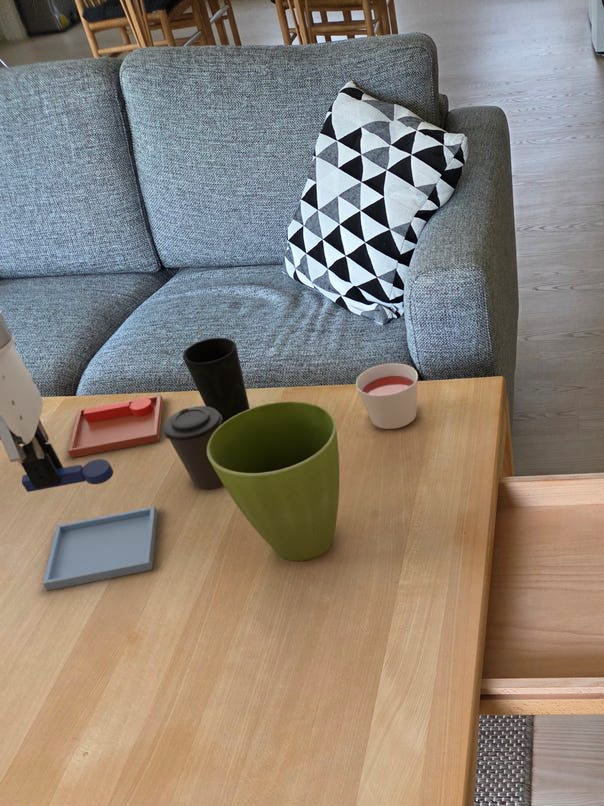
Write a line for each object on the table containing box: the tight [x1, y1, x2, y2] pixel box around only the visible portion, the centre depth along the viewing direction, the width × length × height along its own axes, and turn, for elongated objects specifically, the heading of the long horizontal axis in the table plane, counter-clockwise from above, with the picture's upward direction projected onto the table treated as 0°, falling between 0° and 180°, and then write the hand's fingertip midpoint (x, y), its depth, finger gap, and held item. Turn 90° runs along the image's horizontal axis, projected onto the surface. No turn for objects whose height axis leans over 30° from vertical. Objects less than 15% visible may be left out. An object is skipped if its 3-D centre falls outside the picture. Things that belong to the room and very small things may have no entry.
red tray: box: [67, 394, 164, 458], centre depth 135 cm, size 13×12×1 cm
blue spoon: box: [21, 458, 114, 493], centre depth 105 cm, size 10×3×2 cm, turn 101°
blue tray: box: [42, 506, 159, 591], centre depth 113 cm, size 13×12×1 cm
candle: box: [355, 362, 419, 430], centre depth 128 cm, size 9×9×6 cm
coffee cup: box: [162, 405, 224, 490], centre depth 119 cm, size 8×8×10 cm
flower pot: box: [207, 400, 340, 562], centre depth 105 cm, size 15×15×16 cm
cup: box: [182, 337, 251, 425], centre depth 129 cm, size 8×8×12 cm
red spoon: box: [84, 397, 153, 423], centre depth 137 cm, size 10×3×2 cm, turn 101°
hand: (49, 479), depth 105 cm, fingers closed on blue spoon, 1 cm apart
